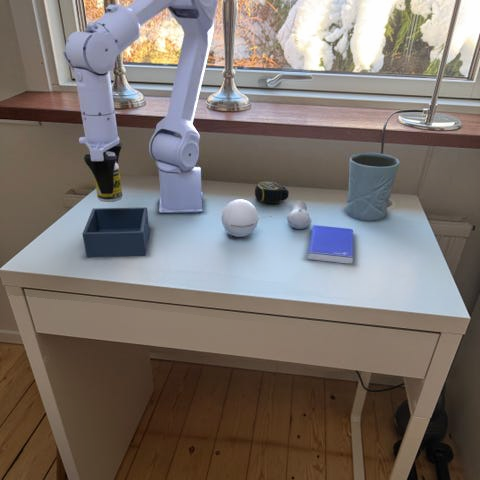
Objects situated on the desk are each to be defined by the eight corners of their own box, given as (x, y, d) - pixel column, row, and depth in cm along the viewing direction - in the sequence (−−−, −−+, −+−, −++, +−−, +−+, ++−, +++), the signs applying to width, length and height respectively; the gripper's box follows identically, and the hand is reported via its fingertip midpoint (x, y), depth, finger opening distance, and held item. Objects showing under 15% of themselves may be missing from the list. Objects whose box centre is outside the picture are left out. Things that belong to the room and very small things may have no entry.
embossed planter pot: (396, 220, 102) (408, 165, 95) (353, 224, 100) (363, 168, 93) (374, 203, 110) (384, 151, 103) (334, 206, 108) (342, 153, 101)
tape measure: (289, 203, 109) (290, 187, 107) (264, 208, 106) (265, 192, 104) (273, 193, 114) (274, 178, 111) (249, 198, 111) (249, 182, 109)
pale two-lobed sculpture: (305, 237, 97) (282, 228, 97) (309, 221, 103) (288, 212, 103) (313, 220, 94) (290, 210, 94) (317, 204, 100) (295, 195, 100)
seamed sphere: (219, 242, 91) (219, 207, 87) (223, 226, 97) (223, 192, 93) (270, 245, 91) (272, 209, 87) (271, 229, 97) (273, 195, 93)
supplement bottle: (116, 203, 88) (110, 158, 83) (93, 201, 89) (85, 156, 84) (126, 195, 92) (121, 151, 87) (104, 192, 93) (97, 149, 88)
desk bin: (149, 228, 96) (147, 207, 93) (145, 255, 87) (143, 232, 84) (96, 230, 95) (92, 208, 92) (86, 257, 86) (82, 233, 83)
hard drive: (353, 256, 84) (353, 228, 94) (308, 251, 86) (313, 224, 96) (351, 264, 85) (352, 235, 95) (307, 259, 87) (312, 231, 96)
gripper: (82, 103, 87) (94, 175, 95) (65, 122, 75) (80, 202, 83) (120, 103, 88) (129, 175, 96) (110, 122, 76) (120, 201, 84)
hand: (109, 188), depth 89 cm, fingers closed on supplement bottle, 5 cm apart
